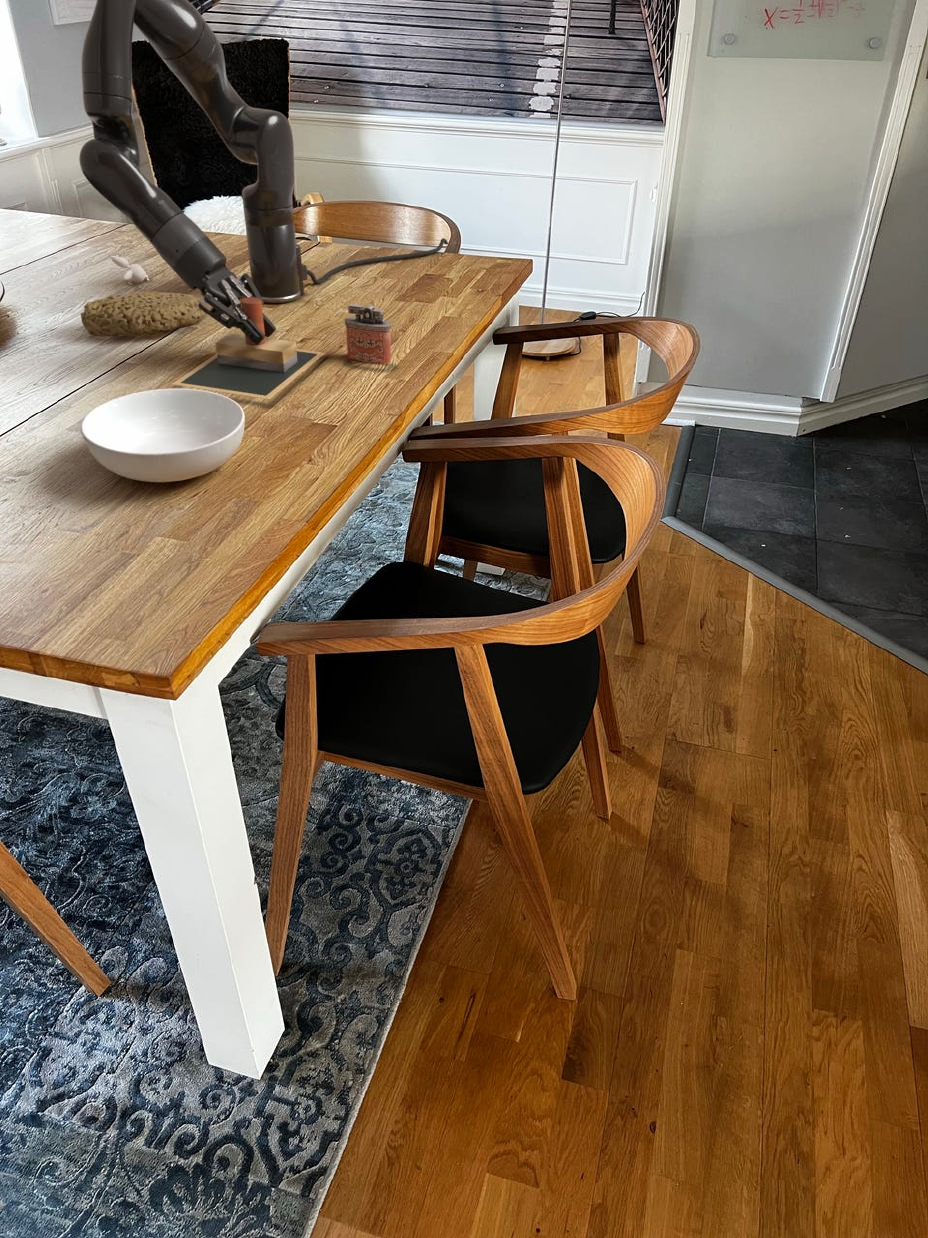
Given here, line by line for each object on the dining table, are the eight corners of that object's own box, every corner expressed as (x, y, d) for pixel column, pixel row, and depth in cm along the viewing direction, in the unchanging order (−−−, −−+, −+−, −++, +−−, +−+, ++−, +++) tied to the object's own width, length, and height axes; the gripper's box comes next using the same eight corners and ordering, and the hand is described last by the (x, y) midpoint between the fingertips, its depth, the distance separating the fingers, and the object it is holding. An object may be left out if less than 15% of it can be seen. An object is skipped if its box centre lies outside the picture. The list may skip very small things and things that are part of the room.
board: (236, 346, 166) (236, 340, 165) (326, 359, 162) (325, 352, 161) (172, 391, 150) (170, 383, 149) (269, 406, 146) (268, 398, 145)
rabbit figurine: (158, 282, 195) (127, 272, 188) (147, 295, 197) (116, 286, 190) (145, 260, 196) (114, 250, 189) (134, 274, 198) (103, 264, 191)
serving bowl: (170, 518, 118) (161, 468, 114) (58, 474, 127) (45, 426, 123) (281, 455, 132) (276, 409, 128) (173, 420, 141) (166, 375, 137)
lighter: (395, 365, 161) (394, 305, 155) (387, 372, 158) (386, 312, 152) (351, 358, 163) (348, 299, 157) (343, 365, 160) (340, 306, 154)
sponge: (87, 351, 166) (195, 329, 164) (71, 305, 163) (181, 282, 161) (114, 339, 178) (215, 318, 176) (100, 295, 175) (203, 275, 173)
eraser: (218, 363, 156) (209, 300, 150) (232, 353, 160) (224, 291, 154) (284, 372, 154) (278, 309, 148) (297, 362, 158) (292, 299, 152)
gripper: (177, 247, 142) (259, 337, 146) (224, 225, 153) (299, 309, 157) (152, 279, 146) (233, 366, 151) (199, 255, 157) (273, 337, 162)
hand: (266, 336), depth 154 cm, fingers closed on eraser, 3 cm apart
